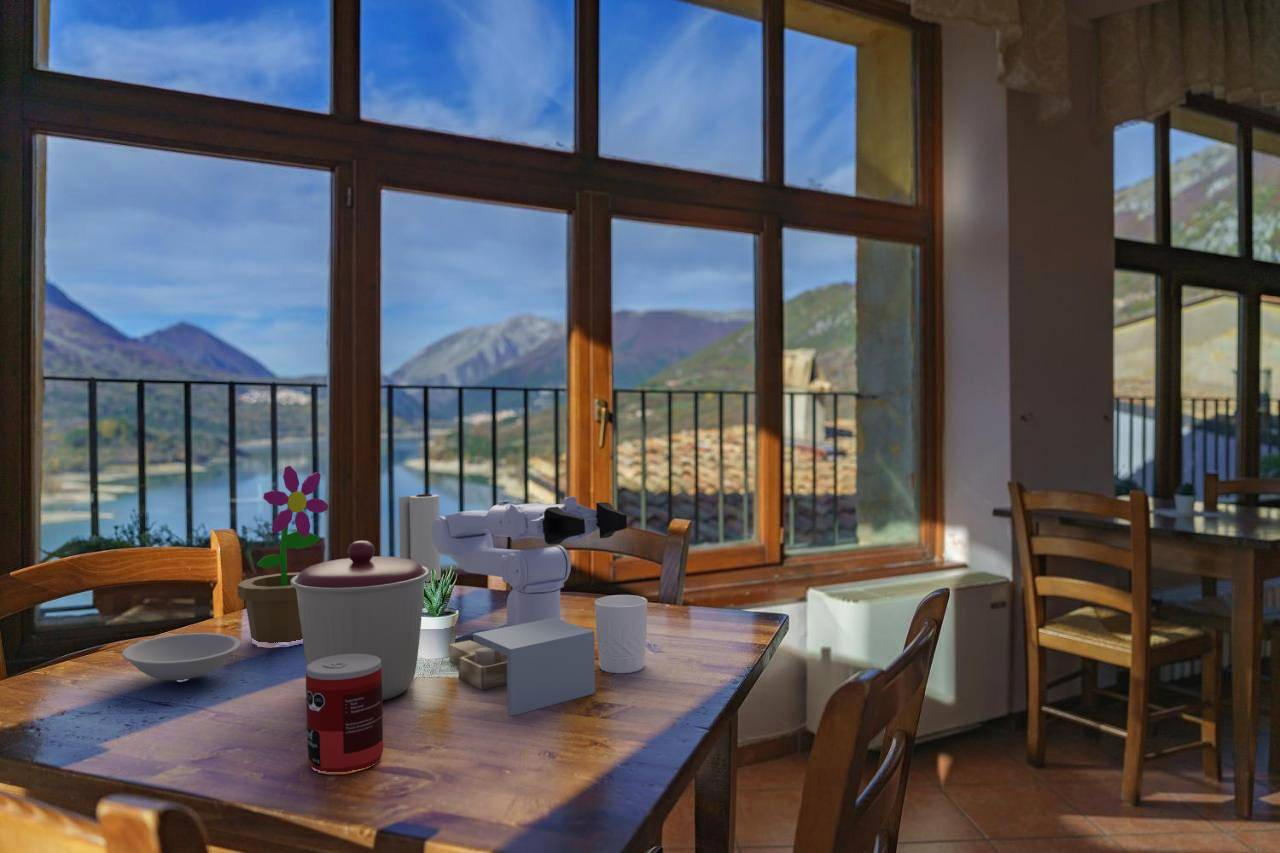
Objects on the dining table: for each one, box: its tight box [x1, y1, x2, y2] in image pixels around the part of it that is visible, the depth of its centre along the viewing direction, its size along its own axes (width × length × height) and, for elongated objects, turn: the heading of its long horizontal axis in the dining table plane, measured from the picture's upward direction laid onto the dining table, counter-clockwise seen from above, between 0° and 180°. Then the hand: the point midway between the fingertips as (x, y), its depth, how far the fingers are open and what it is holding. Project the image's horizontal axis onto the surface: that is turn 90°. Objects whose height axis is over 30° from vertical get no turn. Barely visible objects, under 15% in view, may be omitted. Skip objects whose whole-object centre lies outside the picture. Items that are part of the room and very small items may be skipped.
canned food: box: [305, 654, 384, 772], centre depth 93 cm, size 8×8×11 cm
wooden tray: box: [448, 639, 507, 691], centre depth 126 cm, size 16×9×4 cm, turn 39°
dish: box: [121, 632, 241, 681], centre depth 122 cm, size 18×14×5 cm
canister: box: [290, 540, 430, 702], centre depth 116 cm, size 18×18×21 cm
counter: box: [472, 618, 596, 717], centre depth 114 cm, size 10×13×8 cm
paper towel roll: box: [398, 493, 442, 582], centre depth 175 cm, size 7×6×21 cm
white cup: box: [594, 594, 648, 674], centre depth 126 cm, size 8×8×10 cm
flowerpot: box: [237, 465, 329, 643], centre depth 144 cm, size 14×14×30 cm
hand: (604, 523), depth 125 cm, fingers open, 7 cm apart
